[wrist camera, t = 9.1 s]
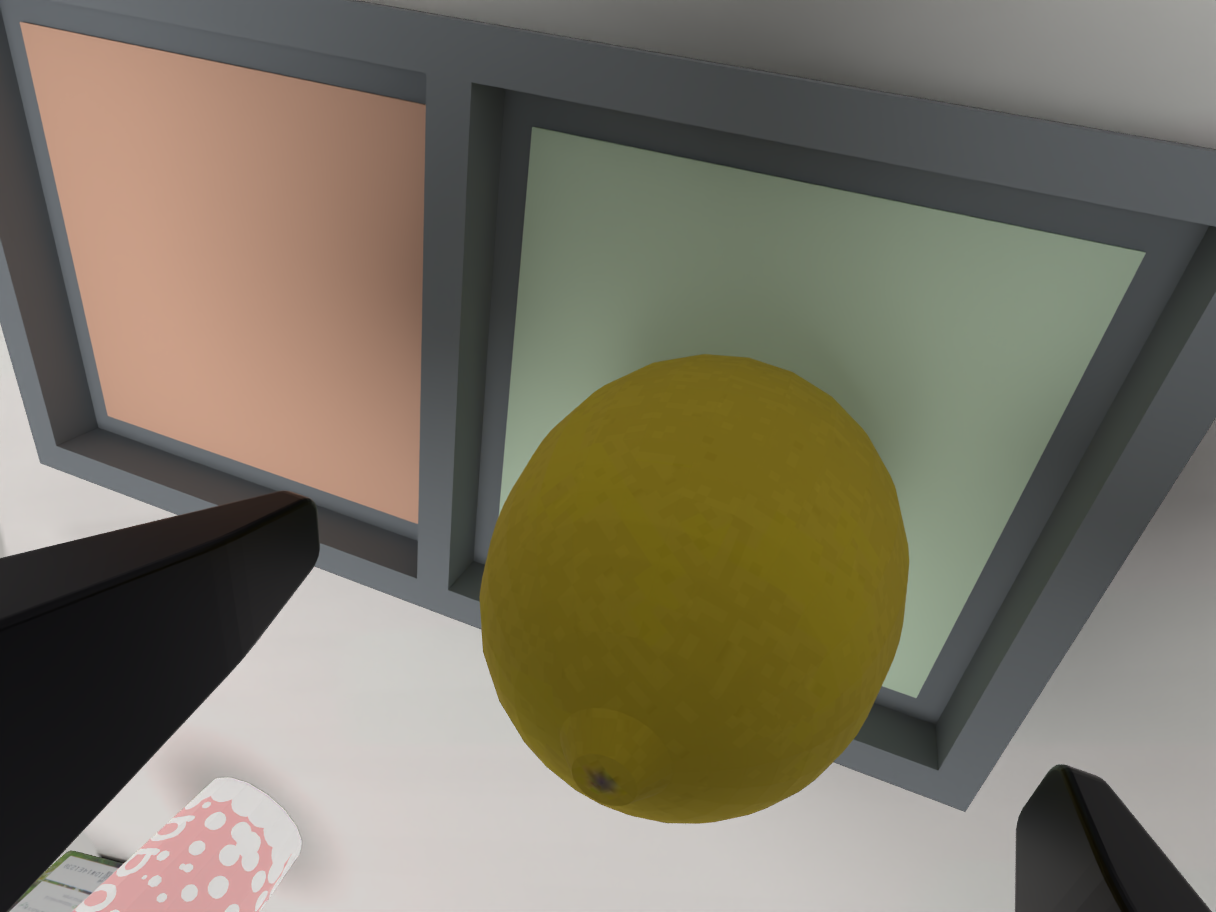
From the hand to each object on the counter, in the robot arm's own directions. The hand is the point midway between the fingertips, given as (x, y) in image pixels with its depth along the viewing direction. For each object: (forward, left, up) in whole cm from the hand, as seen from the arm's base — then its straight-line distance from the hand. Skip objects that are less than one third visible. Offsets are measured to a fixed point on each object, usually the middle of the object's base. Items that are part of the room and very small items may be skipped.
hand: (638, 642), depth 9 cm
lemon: (0, 0, -6) cm, 6 cm away
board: (+6, 0, -7) cm, 9 cm away
